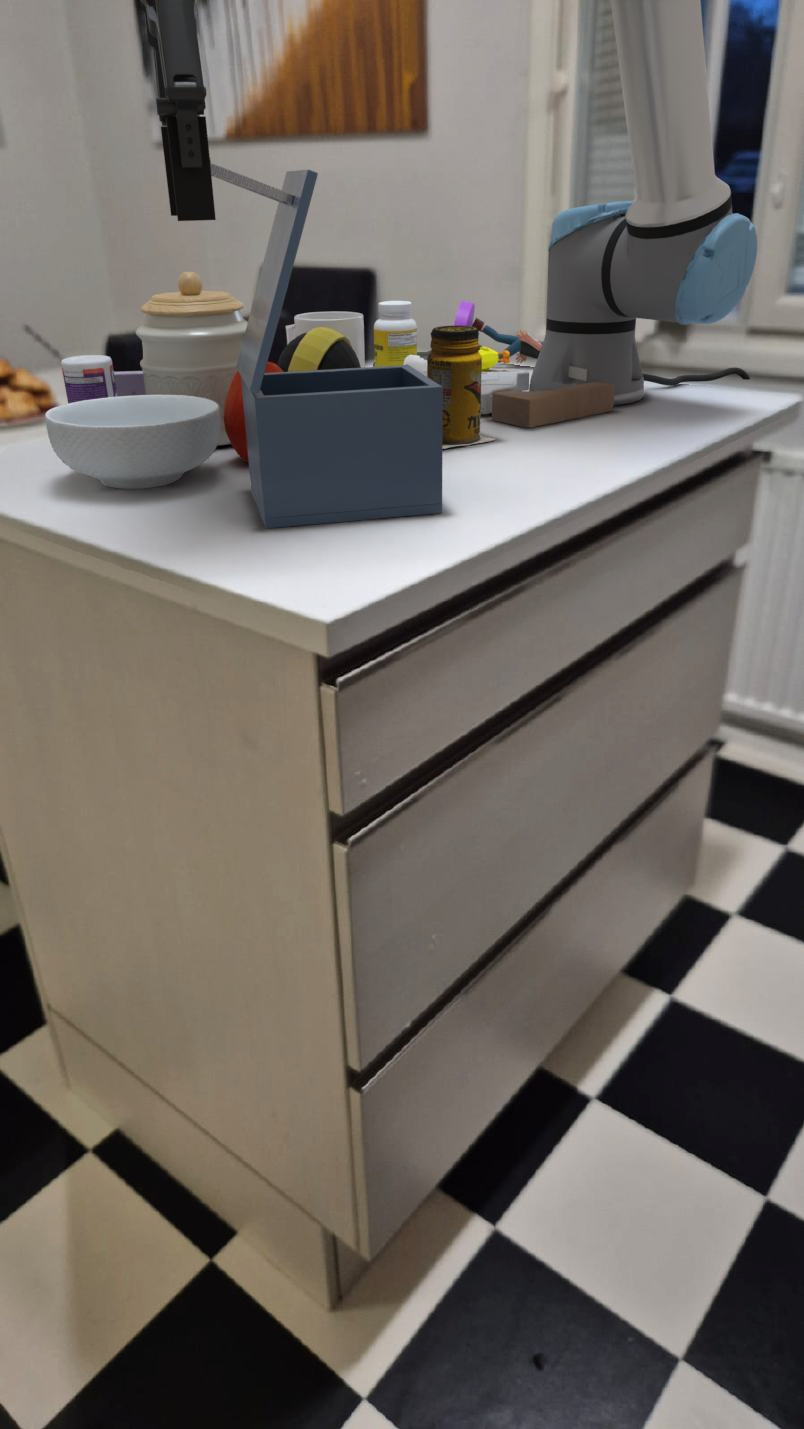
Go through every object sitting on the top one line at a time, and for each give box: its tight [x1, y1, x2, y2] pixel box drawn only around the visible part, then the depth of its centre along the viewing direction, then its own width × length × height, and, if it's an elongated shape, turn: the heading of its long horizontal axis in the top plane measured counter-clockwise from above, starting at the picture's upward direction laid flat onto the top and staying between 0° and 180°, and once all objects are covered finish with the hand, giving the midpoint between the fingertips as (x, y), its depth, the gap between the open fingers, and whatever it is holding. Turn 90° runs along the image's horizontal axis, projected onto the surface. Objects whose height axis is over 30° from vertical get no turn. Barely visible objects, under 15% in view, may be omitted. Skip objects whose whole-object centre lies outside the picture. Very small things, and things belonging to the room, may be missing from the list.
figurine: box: [453, 300, 544, 364], centre depth 155 cm, size 9×9×18 cm
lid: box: [210, 157, 319, 393], centre depth 80 cm, size 17×12×9 cm
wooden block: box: [491, 382, 615, 429], centre depth 123 cm, size 7×3×15 cm
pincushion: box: [404, 355, 427, 377], centre depth 131 cm, size 12×6×6 cm
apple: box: [223, 360, 283, 464], centre depth 104 cm, size 8×8×11 cm
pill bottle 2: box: [373, 300, 418, 367], centre depth 142 cm, size 6×6×11 cm
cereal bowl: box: [44, 395, 221, 490], centre depth 98 cm, size 17×17×7 cm
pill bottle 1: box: [60, 354, 118, 404], centre depth 110 cm, size 5×5×10 cm
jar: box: [135, 271, 248, 447], centre depth 112 cm, size 13×13×18 cm
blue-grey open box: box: [241, 365, 443, 530], centre depth 89 cm, size 16×12×11 cm
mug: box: [284, 311, 366, 368], centre depth 130 cm, size 12×9×11 cm
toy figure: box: [479, 346, 511, 372], centre depth 151 cm, size 7×4×12 cm
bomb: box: [277, 327, 361, 372], centre depth 119 cm, size 11×11×15 cm
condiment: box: [427, 325, 496, 450], centre depth 110 cm, size 7×8×12 cm
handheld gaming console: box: [480, 370, 530, 415], centre depth 130 cm, size 11×3×15 cm
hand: (191, 218), depth 78 cm, fingers open, 13 cm apart
